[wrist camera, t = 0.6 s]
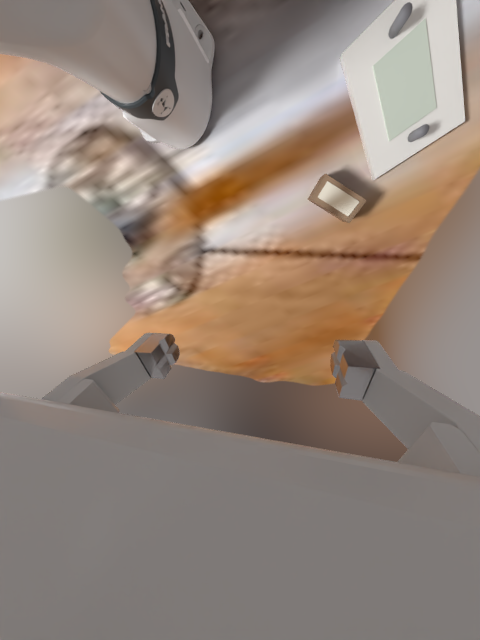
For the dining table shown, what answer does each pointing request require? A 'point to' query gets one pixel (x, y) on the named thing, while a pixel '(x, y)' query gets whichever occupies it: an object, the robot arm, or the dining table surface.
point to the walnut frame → (336, 199)
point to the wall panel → (405, 80)
